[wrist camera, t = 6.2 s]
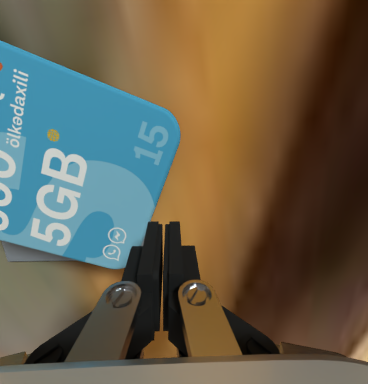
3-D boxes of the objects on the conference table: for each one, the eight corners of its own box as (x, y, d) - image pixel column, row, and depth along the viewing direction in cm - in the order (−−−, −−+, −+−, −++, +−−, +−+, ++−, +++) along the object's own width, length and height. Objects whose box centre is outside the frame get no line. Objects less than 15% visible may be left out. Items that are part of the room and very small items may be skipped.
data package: (130, 275, 16) (-50, 229, 14) (138, 241, 20) (1, 202, 18) (189, 118, 12) (-43, 22, 10) (184, 116, 17) (19, 48, 14)
